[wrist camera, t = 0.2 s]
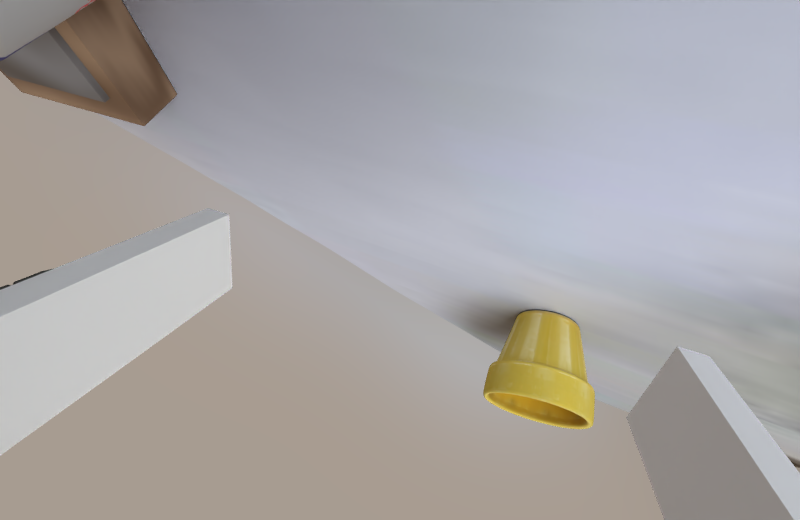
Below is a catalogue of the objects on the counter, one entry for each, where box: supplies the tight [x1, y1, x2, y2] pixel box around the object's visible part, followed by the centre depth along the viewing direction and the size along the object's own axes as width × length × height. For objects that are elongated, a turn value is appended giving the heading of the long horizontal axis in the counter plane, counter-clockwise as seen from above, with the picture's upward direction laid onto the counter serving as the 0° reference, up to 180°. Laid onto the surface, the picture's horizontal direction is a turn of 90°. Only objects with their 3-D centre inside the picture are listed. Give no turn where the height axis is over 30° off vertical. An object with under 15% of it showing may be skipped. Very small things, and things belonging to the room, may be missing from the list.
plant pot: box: [484, 310, 595, 429], centre depth 38 cm, size 10×10×10 cm
